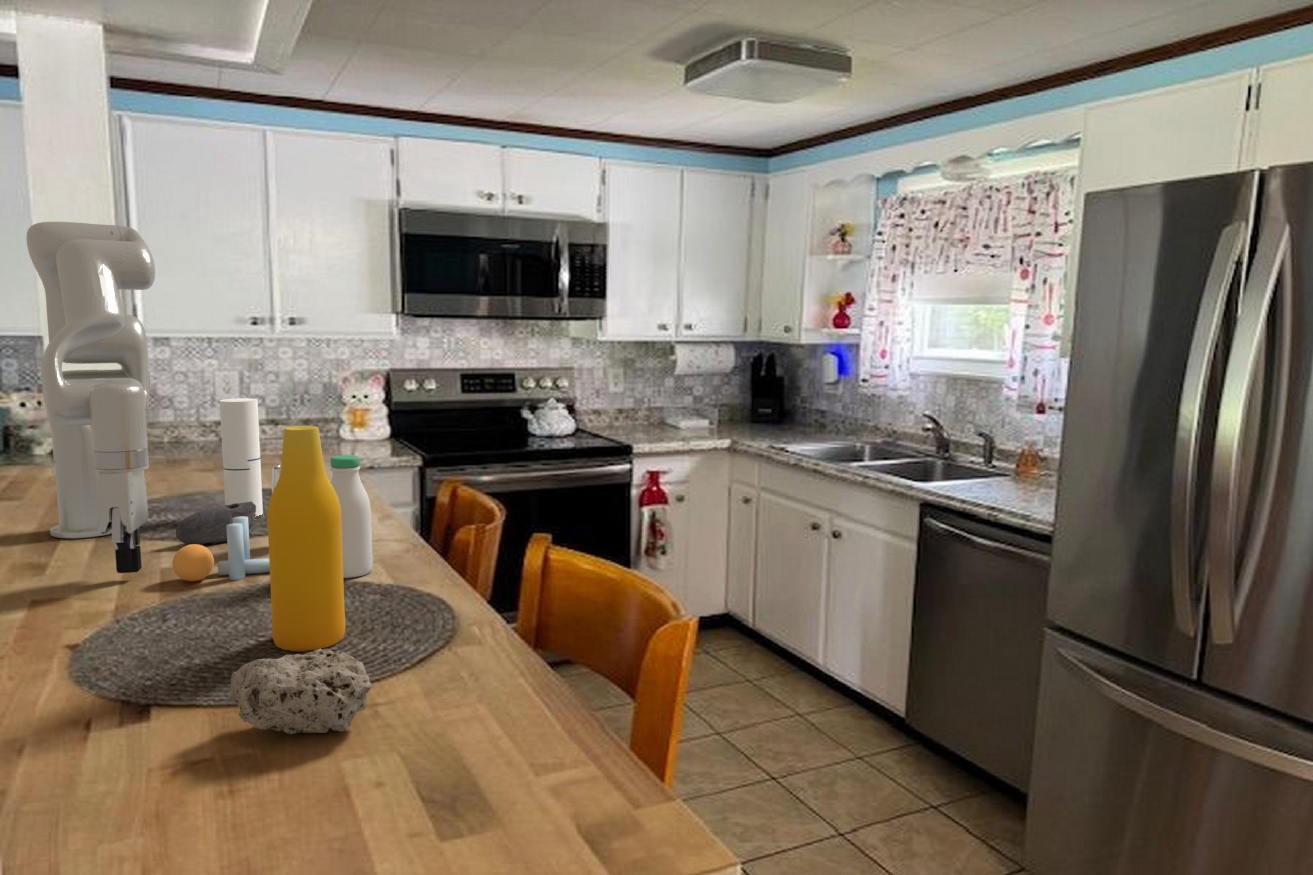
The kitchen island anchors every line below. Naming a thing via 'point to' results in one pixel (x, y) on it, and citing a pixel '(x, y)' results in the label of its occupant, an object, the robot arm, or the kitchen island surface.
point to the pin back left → (235, 551)
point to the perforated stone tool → (213, 523)
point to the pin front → (247, 566)
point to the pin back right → (244, 534)
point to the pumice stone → (301, 692)
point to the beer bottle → (305, 548)
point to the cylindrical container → (241, 452)
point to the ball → (193, 562)
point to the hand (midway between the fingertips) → (129, 570)
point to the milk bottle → (353, 516)
